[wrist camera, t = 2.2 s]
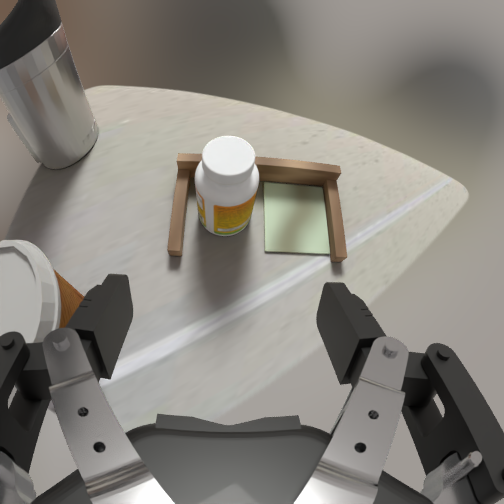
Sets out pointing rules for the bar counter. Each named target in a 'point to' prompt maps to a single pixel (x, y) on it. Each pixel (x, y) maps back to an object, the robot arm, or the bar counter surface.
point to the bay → (280, 206)
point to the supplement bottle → (226, 185)
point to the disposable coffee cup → (32, 292)
